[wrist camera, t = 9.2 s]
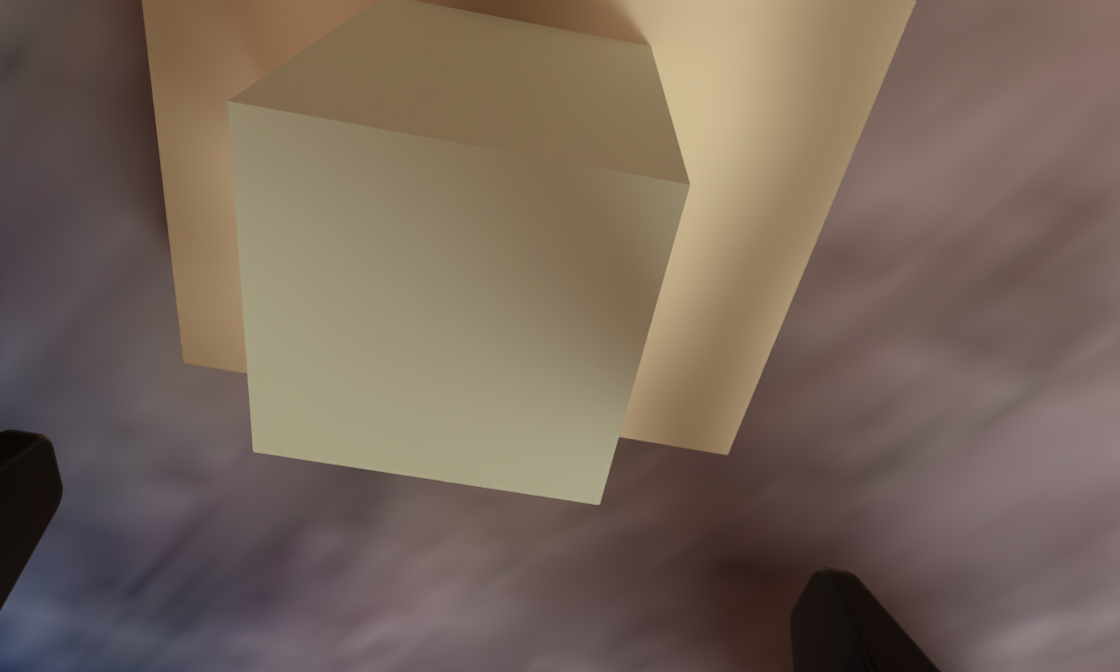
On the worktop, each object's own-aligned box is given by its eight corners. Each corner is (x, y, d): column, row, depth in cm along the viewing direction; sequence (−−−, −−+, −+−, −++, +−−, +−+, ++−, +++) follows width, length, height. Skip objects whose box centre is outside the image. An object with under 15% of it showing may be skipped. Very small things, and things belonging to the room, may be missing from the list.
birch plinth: (925, -183, 14) (995, -191, 12) (712, 386, 22) (727, 455, 19) (189, -354, 13) (95, -402, 11) (232, 302, 21) (183, 362, 18)
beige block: (650, 45, 14) (690, 184, 8) (598, 275, 17) (599, 504, 11) (385, -6, 14) (227, 101, 8) (376, 238, 16) (253, 452, 11)
